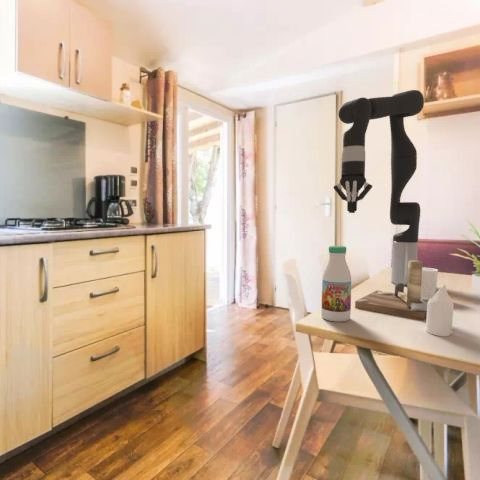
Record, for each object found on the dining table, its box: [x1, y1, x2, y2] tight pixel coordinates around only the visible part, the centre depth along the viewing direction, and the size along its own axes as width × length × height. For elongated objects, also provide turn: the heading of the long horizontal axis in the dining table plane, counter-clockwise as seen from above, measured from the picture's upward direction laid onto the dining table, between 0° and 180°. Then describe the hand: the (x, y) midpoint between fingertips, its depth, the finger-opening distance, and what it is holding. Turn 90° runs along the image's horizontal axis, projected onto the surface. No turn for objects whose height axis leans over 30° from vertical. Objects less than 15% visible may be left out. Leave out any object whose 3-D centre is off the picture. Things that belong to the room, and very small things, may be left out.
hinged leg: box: [394, 260, 423, 307], centre depth 103 cm, size 16×4×13 cm, turn 172°
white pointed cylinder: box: [425, 284, 454, 337], centre depth 83 cm, size 6×12×6 cm
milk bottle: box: [320, 245, 352, 323], centre depth 94 cm, size 8×8×20 cm
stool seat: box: [354, 290, 431, 321], centre depth 106 cm, size 19×19×2 cm
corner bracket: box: [411, 300, 427, 311], centre depth 97 cm, size 4×4×2 cm
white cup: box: [421, 266, 439, 298], centre depth 117 cm, size 8×8×10 cm
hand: (351, 212), depth 117 cm, fingers closed
